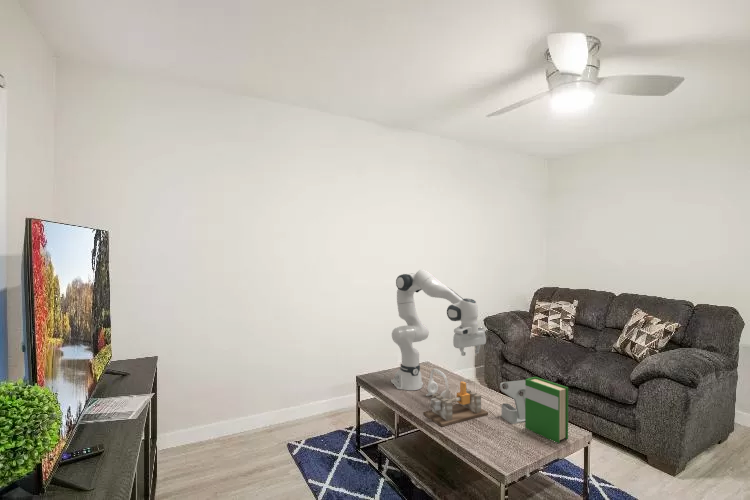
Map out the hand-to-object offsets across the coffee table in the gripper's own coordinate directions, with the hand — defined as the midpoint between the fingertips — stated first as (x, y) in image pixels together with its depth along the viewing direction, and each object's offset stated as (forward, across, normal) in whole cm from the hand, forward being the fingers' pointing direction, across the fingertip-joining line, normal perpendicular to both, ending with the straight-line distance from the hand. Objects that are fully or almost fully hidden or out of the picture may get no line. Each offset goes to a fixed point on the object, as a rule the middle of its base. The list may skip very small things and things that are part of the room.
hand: (470, 354), depth 212 cm
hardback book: (+32, -14, +36) cm, 50 cm away
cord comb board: (+30, +11, 0) cm, 32 cm away
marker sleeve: (+25, +6, +1) cm, 25 cm away
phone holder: (+31, -16, +18) cm, 40 cm away
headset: (+30, +8, -19) cm, 36 cm away
